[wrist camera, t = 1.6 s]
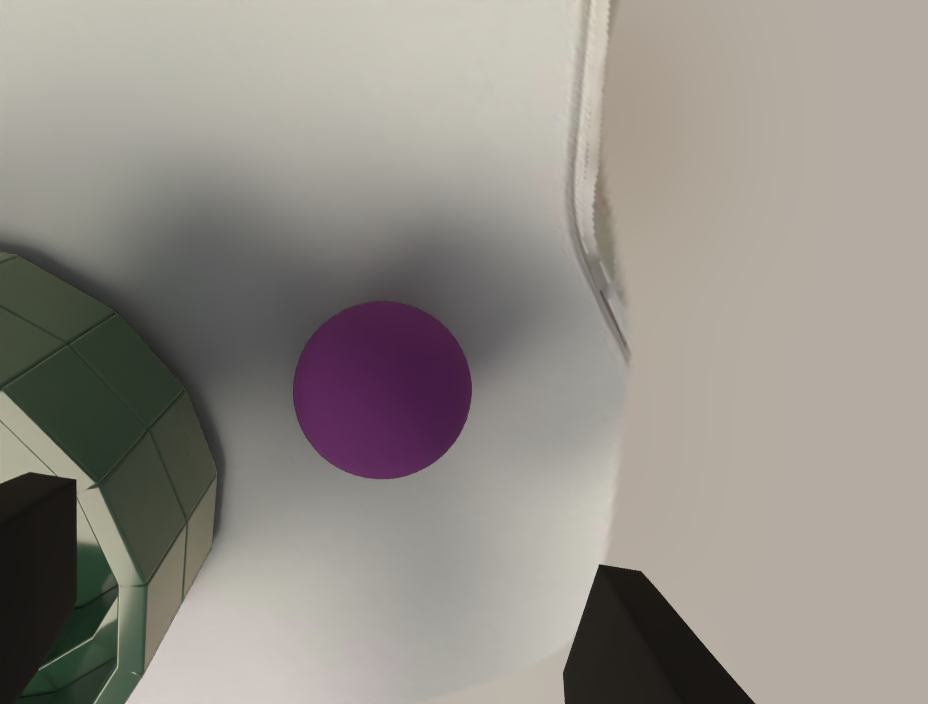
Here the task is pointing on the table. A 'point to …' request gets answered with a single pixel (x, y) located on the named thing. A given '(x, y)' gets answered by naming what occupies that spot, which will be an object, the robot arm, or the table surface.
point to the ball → (382, 390)
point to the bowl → (103, 476)
